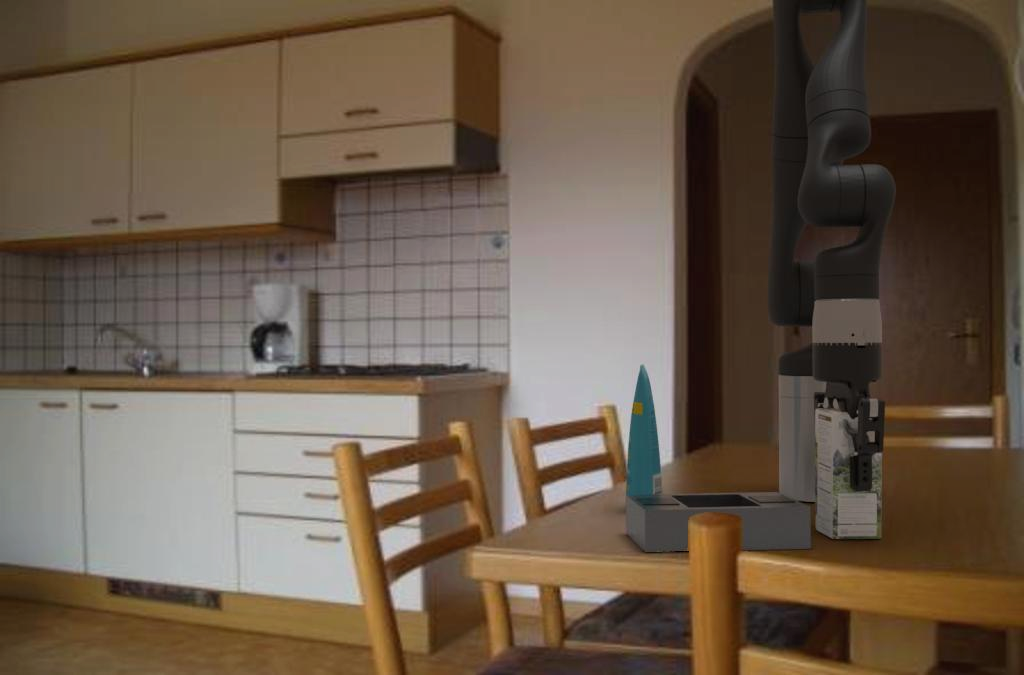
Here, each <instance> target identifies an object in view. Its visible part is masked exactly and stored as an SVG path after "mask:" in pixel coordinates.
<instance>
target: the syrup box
mask: <svg viewBox="0 0 1024 675" xmlns="http://www.w3.org/2000/svg"><path fill="white" fill-rule="evenodd" d="M843 419H847V420H848V423H849V426H850V427H852V428H858V417H857V418H855V419H852V418H851V417H850V416H849V414H848V413H847V412H839V411H836V410H834V408H817V409H816V410H815V502H814V507H815V508H814V529H815V530H816V531H817V532H818V533H821V534H822V535H825V536H826V537H828V538H831V539H832V540H872V539H873V540H875V539H877V540H878V539H881V538H882V490H883V489H882V486H883V485H882V477H883V476H882V472H883V471H882V470H883V468H882V466H883V465H882V463H883V462H882V461H883V457H882V456H883V452H882V453H876V454H875V456H874V457H872V489H871V490H870V491H854V490H852V489H851V488H850V457H852V456H851V454H850V450H849V445H848V439H847V438H846V437H845V436H844V435H843ZM869 420H871V419H869ZM873 440H875V433H874V434H873ZM856 441H857V437H856Z"/></svg>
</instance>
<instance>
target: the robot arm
mask: <svg viewBox="0 0 1024 675" xmlns="http://www.w3.org/2000/svg"><path fill="white" fill-rule="evenodd" d="M772 11H773V12H772V13H773V14H772V15H773V16H772V17H773V40H774V41H773V42H774V44H773V45H774V46H773V47H774V92H773V112H772V116H773V117H772V128H771V129H772V130H771V131H772V132H771V133H772V135H771V136H772V138H771V179H772V189H771V190H772V219H771V234H770V236H771V237H770V247H769V248H770V249H769V250H770V252H769V261H768V262H769V263H768V276H767V291H766V292H767V293H766V296H767V297H766V300H767V301H766V303H767V311H768V316H769V319H770V321H771V322H772V324H773V325H774V326H777V327H788V328H789V327H792V328H793V327H794V328H795V327H798V328H799V327H802V328H803V327H805V328H806V327H807V328H808V327H812V342H811V343H809V344H807V345H805V346H803V347H801V348H797V349H795V350H792V351H787V352H786V353H783V354H781V356H780V357H779V360H778V458H779V459H778V462H779V463H778V464H779V465H778V480H779V481H778V487H779V488H778V490H779V491H778V492H779V493H781V494H783V495H785V496H787V497H790V498H792V499H794V500H796V501H799V502H807V503H808V502H809V503H810V502H811V503H815V410H816V409H817V408H834V410H836V411H839V412H847V413H848V414H849V416H850V417H851V418H852V419H855V418H857V417H858V428H852V427H850V426H849V423H848V420H847V419H843V435H844V436H845V437H846V438H847V439H848V445H849V450H850V454H851V456H852V457H850V488H851V489H852V490H854V491H870V490H871V489H872V457H874V456H875V454H876V453H882V454H883V451H884V443H885V442H884V440H885V438H884V437H885V419H886V418H885V417H886V416H885V415H886V414H885V413H886V402H885V399H884V398H876V397H873V398H872V395H871V391H870V383H876V382H879V381H881V380H882V378H883V323H882V322H883V321H882V313H881V305H880V260H881V255H882V250H883V246H884V245H883V244H884V240H885V236H886V232H887V228H888V224H889V222H890V219H891V216H892V212H893V208H894V205H895V201H896V195H897V187H896V183H895V180H894V177H893V175H892V173H891V171H889V170H888V168H886V167H884V166H883V165H881V164H876V163H875V164H844V160H847V159H851V158H853V157H856V156H858V155H860V154H861V153H863V152H864V151H866V149H867V148H868V147H869V145H870V143H871V139H872V126H871V117H870V110H869V109H870V108H869V101H868V92H867V79H866V58H867V57H866V55H867V53H866V52H867V31H868V28H867V27H868V26H867V25H868V0H772ZM829 13H839V23H838V26H837V28H836V31H835V34H834V36H833V37H832V39H831V41H830V43H829V44H828V46H827V47H826V49H825V50H824V52H823V54H821V55H822V56H820V58H819V60H818V61H817V63H816V65H815V63H814V61H813V58H812V57H811V56H810V53H809V50H808V49H807V47H806V46H807V45H806V44H805V40H804V39H803V38H804V37H803V33H802V29H801V23H800V20H801V19H800V16H801V15H805V16H806V15H817V14H829ZM807 225H810V226H811V227H815V228H839V227H841V228H847V227H848V228H850V227H851V228H852V227H853V228H855V227H858V228H859V229H858V233H857V236H856V238H855V239H854V241H852V242H851V243H849V244H845V245H842V246H841V245H840V246H836V247H830V248H827V249H824V250H821V251H819V253H817V254H816V256H815V259H814V260H804V261H803V260H800V261H799V260H798V261H797V260H794V257H795V253H796V249H797V246H798V243H799V240H800V238H801V235H802V234H803V232H804V229H806V227H807ZM869 419H871V420H869ZM874 433H875V440H873V434H874ZM856 437H857V441H856Z"/></svg>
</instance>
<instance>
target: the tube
mask: <svg viewBox="0 0 1024 675" xmlns="http://www.w3.org/2000/svg"><path fill="white" fill-rule="evenodd" d="M649 377H650V376H649V374H648V371H647V369H646V367H645V365H644V364H643V363H642V364H640V366H639V372H638V376H637V379H636V380H637V381H636V385H635V390H634V391H635V392H634V397H633V402H632V407H631V415H630V424H629V425H630V426H629V434H628V435H629V436H628V447H627V458H626V459H627V460H626V461H627V462H626V463H627V464H626V484H625V485H626V486H625V487H626V488H625V496H626V495H651V494H663V484H662V483H663V482H662V480H663V479H662V467H661V454H660V444H659V435H658V434H659V433H658V426H657V425H658V424H657V417H656V409H655V403H654V397H653V390H652V386H651V385H652V384H651V381H650V378H649Z"/></svg>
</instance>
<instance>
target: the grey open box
mask: <svg viewBox="0 0 1024 675" xmlns="http://www.w3.org/2000/svg"><path fill="white" fill-rule="evenodd" d="M704 512H717V513H729V514H735V515H739V516H740V517H741V518H742V524H743V529H742V547H743V550H742V551H772V550H777V551H778V550H780V551H781V550H811V549H812V548H811V546H812V544H811V543H812V542H811V540H812V536H811V535H812V534H811V533H812V531H811V529H812V528H811V525H812V523H811V518H812V517H811V512H812V511H811V506H810V505H807V504H805V503H803V502H802V501H797V500H794V499H792V498H790V497H787V496H785V495H783V494H781V493H779V491H766V492H765V491H764V492H763V491H760V492H759V491H758V492H756V491H755V492H754V491H753V492H714V493H713V492H709V493H708V492H705V493H704V492H703V493H702V492H701V493H665V494H664V493H662V494H651V495H626V494H625V523H626V524H625V534H626V535H627V536H628V537H629V538H630V539H631V540H632V542H633V543H635V545H637V546H638V548H640V550H642V551H643V550H644V551H645V552H657V551H684V550H686V551H687V548H688V520H689V518H690V517H691V516H693V515H695V514H699V513H704ZM644 551H643V552H644ZM645 552H644V553H645Z"/></svg>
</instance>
